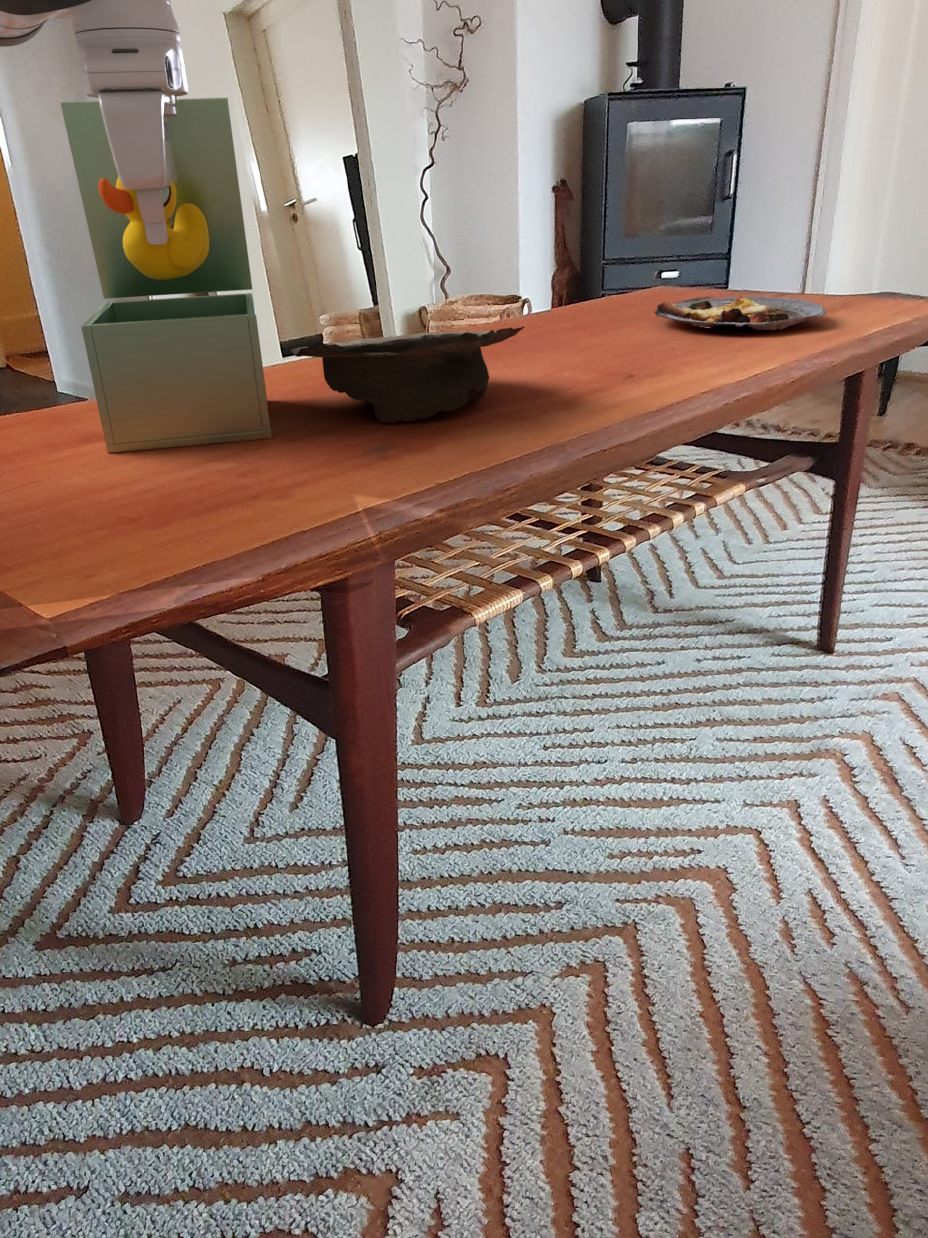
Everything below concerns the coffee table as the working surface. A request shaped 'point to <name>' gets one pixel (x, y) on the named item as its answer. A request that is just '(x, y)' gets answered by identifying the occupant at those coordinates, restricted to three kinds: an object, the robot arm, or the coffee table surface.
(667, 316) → the food plate
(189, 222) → the duckling
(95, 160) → the breadbin lid
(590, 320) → the coffee table surface
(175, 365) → the box
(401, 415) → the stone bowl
